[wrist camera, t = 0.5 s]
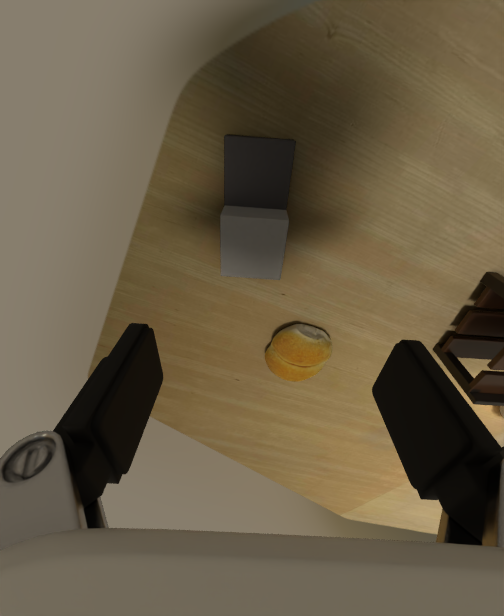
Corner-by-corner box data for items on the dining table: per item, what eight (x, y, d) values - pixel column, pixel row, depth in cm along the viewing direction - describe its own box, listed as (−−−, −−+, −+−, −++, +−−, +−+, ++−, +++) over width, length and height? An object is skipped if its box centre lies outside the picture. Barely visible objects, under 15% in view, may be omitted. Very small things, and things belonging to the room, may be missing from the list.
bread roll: (258, 360, 37) (258, 383, 34) (282, 315, 32) (284, 337, 29) (309, 373, 38) (314, 397, 35) (340, 332, 33) (348, 355, 30)
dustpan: (226, 134, 21) (219, 137, 17) (294, 139, 21) (300, 143, 17) (226, 257, 27) (220, 278, 24) (277, 261, 27) (280, 282, 24)
